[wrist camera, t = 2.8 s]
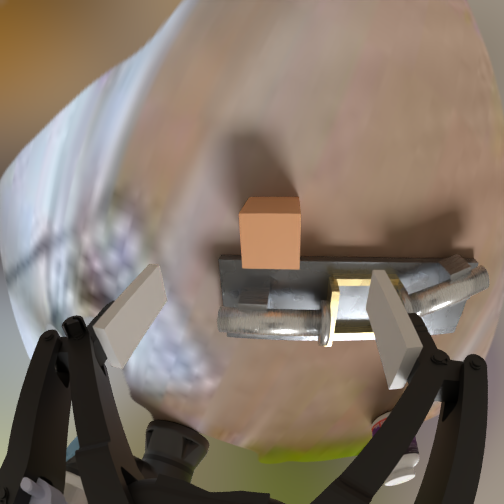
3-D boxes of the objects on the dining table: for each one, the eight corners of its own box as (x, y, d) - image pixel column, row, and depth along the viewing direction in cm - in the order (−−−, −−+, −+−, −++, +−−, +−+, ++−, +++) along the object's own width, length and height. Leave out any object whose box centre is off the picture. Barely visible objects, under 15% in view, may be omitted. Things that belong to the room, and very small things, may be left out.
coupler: (251, 242, 30) (242, 268, 25) (249, 196, 28) (238, 213, 23) (298, 243, 29) (299, 269, 24) (298, 196, 27) (300, 213, 22)
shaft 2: (395, 309, 30) (409, 340, 24) (390, 277, 28) (407, 306, 23) (470, 280, 27) (491, 304, 21) (470, 247, 25) (495, 269, 20)
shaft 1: (326, 287, 30) (332, 318, 24) (322, 321, 31) (326, 355, 26) (225, 284, 31) (212, 314, 26) (228, 318, 33) (218, 350, 28)
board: (229, 330, 35) (222, 352, 32) (220, 254, 31) (210, 272, 27) (450, 327, 31) (461, 345, 27) (473, 258, 27) (490, 274, 23)
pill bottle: (393, 403, 39) (406, 471, 26) (416, 411, 40) (430, 471, 27) (362, 424, 42) (368, 487, 29) (386, 431, 43) (395, 488, 30)
